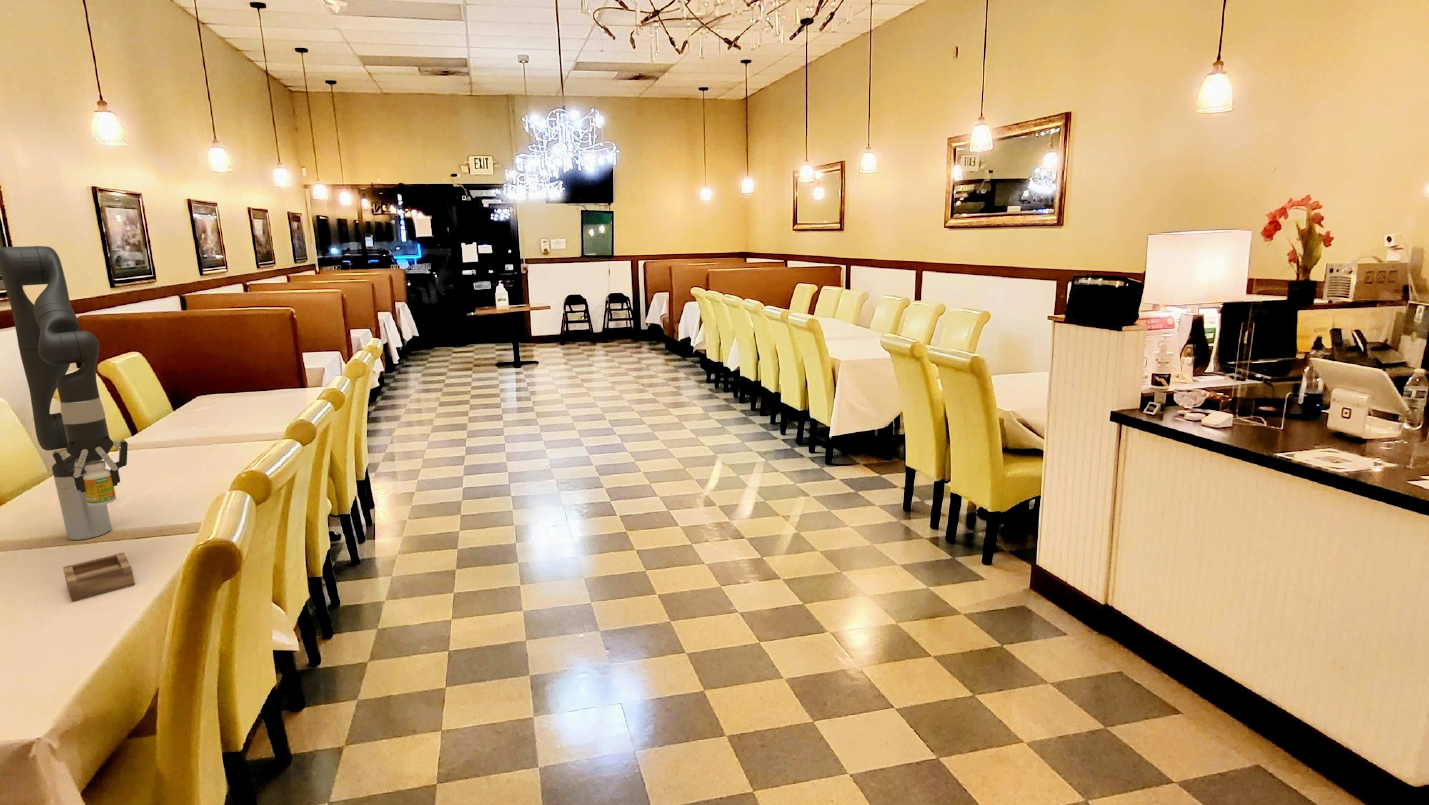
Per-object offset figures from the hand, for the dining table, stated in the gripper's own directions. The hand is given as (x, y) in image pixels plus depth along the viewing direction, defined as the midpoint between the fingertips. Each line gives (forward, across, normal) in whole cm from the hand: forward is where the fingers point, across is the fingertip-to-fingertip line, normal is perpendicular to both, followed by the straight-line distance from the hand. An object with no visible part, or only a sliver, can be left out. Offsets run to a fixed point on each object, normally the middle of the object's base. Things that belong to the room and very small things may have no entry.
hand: (99, 488), depth 178 cm
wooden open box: (+19, +4, +12) cm, 23 cm away
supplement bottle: (+4, 0, 0) cm, 4 cm away
